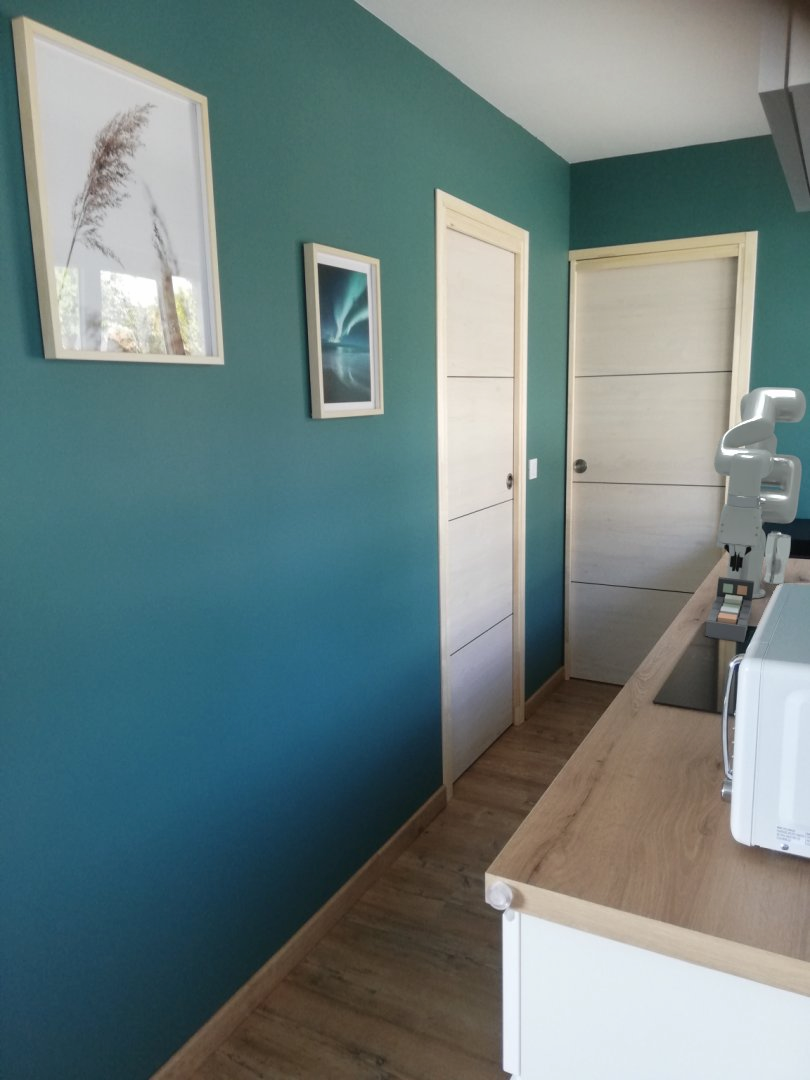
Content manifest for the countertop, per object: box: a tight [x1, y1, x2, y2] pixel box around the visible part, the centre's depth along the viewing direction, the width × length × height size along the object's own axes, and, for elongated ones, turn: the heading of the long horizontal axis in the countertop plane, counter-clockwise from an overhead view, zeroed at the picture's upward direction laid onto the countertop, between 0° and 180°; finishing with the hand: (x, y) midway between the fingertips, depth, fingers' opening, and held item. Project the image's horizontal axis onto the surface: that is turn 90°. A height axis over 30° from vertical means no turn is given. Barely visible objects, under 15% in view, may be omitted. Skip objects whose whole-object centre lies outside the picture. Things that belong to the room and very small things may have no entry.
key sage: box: [723, 603, 741, 611], centre depth 211 cm, size 4×4×2 cm
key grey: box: [720, 606, 739, 618], centre depth 206 cm, size 4×4×2 cm
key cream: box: [724, 594, 743, 605], centre depth 217 cm, size 4×4×2 cm
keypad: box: [704, 576, 754, 643], centre depth 209 cm, size 27×9×9 cm, turn 154°
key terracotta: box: [717, 613, 737, 624], centre depth 200 cm, size 4×4×2 cm
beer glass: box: [762, 533, 792, 586], centre depth 250 cm, size 7×7×15 cm
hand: (735, 570), depth 210 cm, fingers closed
